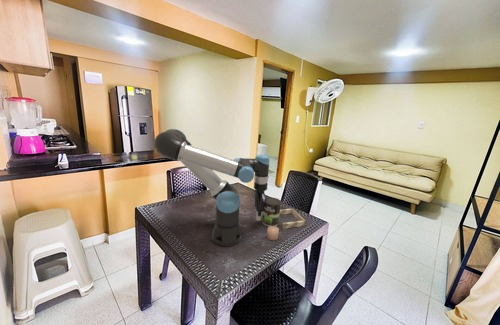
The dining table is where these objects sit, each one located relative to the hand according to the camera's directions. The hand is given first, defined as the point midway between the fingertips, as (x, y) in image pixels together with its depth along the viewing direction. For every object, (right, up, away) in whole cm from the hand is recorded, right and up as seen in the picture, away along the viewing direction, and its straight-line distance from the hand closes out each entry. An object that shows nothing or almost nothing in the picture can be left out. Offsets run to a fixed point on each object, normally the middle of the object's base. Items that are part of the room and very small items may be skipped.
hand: (258, 219), depth 123 cm
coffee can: (+8, -3, +3) cm, 9 cm away
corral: (+19, -2, +7) cm, 20 cm away
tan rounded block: (+7, -6, -11) cm, 15 cm away
